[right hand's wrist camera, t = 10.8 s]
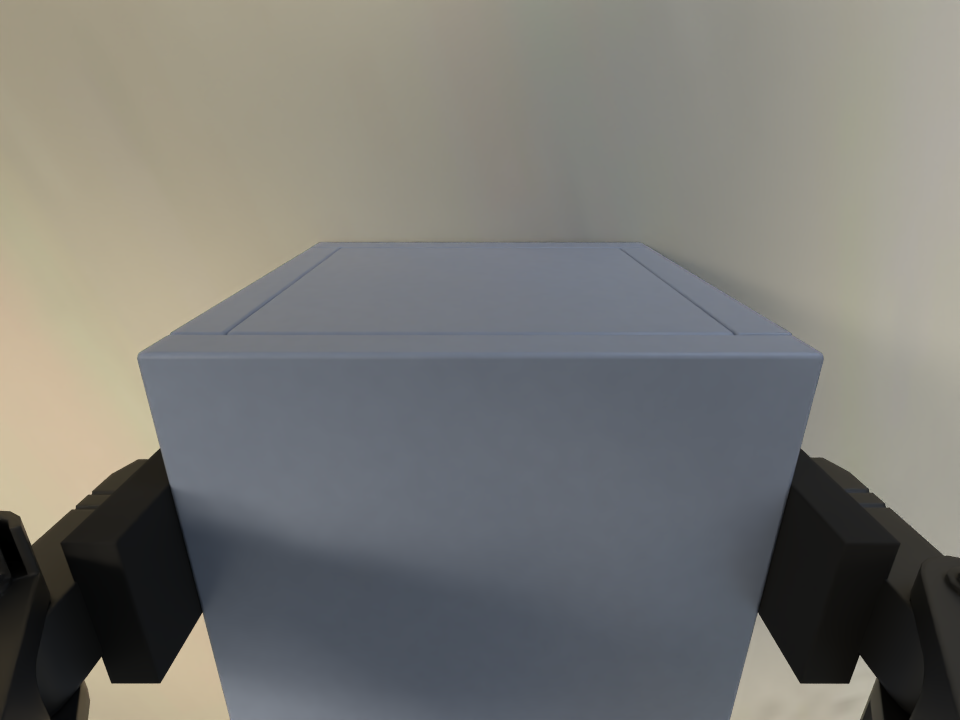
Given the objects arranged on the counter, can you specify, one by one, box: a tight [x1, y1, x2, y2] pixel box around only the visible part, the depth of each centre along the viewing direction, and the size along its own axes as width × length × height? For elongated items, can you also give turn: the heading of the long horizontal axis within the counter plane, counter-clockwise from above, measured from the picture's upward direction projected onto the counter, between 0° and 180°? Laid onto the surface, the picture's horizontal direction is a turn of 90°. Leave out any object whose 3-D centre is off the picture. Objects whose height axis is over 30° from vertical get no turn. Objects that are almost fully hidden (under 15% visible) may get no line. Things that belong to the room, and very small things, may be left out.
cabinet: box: [137, 242, 824, 720], centre depth 15 cm, size 18×10×9 cm, turn 0°
